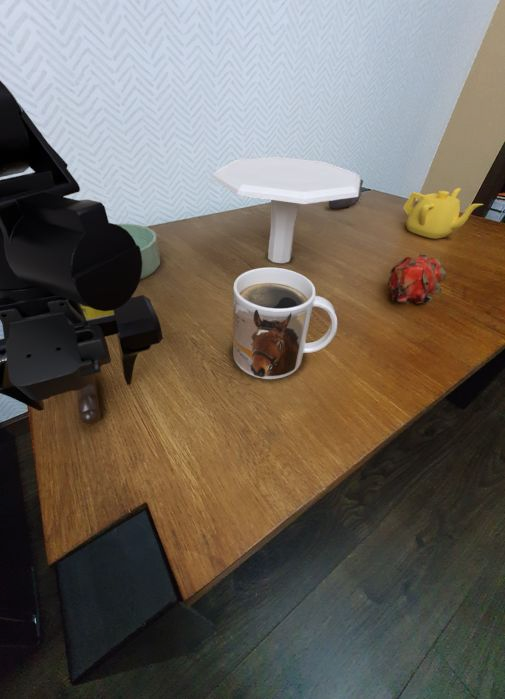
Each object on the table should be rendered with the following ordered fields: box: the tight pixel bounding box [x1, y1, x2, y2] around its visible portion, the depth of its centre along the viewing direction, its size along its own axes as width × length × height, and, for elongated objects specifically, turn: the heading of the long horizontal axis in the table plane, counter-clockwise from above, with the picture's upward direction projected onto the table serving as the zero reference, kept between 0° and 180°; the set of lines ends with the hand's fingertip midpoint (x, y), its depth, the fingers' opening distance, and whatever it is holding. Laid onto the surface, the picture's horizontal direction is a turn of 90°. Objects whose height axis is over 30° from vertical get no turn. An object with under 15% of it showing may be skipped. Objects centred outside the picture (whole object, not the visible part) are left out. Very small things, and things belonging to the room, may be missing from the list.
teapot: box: [402, 187, 484, 239], centre depth 79 cm, size 14×13×10 cm
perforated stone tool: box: [328, 178, 364, 210], centre depth 93 cm, size 15×5×7 cm, turn 132°
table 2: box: [210, 156, 362, 264], centre depth 61 cm, size 28×28×17 cm
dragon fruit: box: [387, 253, 447, 304], centre depth 54 cm, size 8×8×12 cm
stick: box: [77, 374, 101, 426], centre depth 36 cm, size 2×8×2 cm, turn 26°
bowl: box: [114, 223, 162, 280], centre depth 60 cm, size 15×15×6 cm
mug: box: [232, 266, 338, 380], centre depth 40 cm, size 10×12×11 cm
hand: (87, 394), depth 36 cm, fingers open, 9 cm apart
